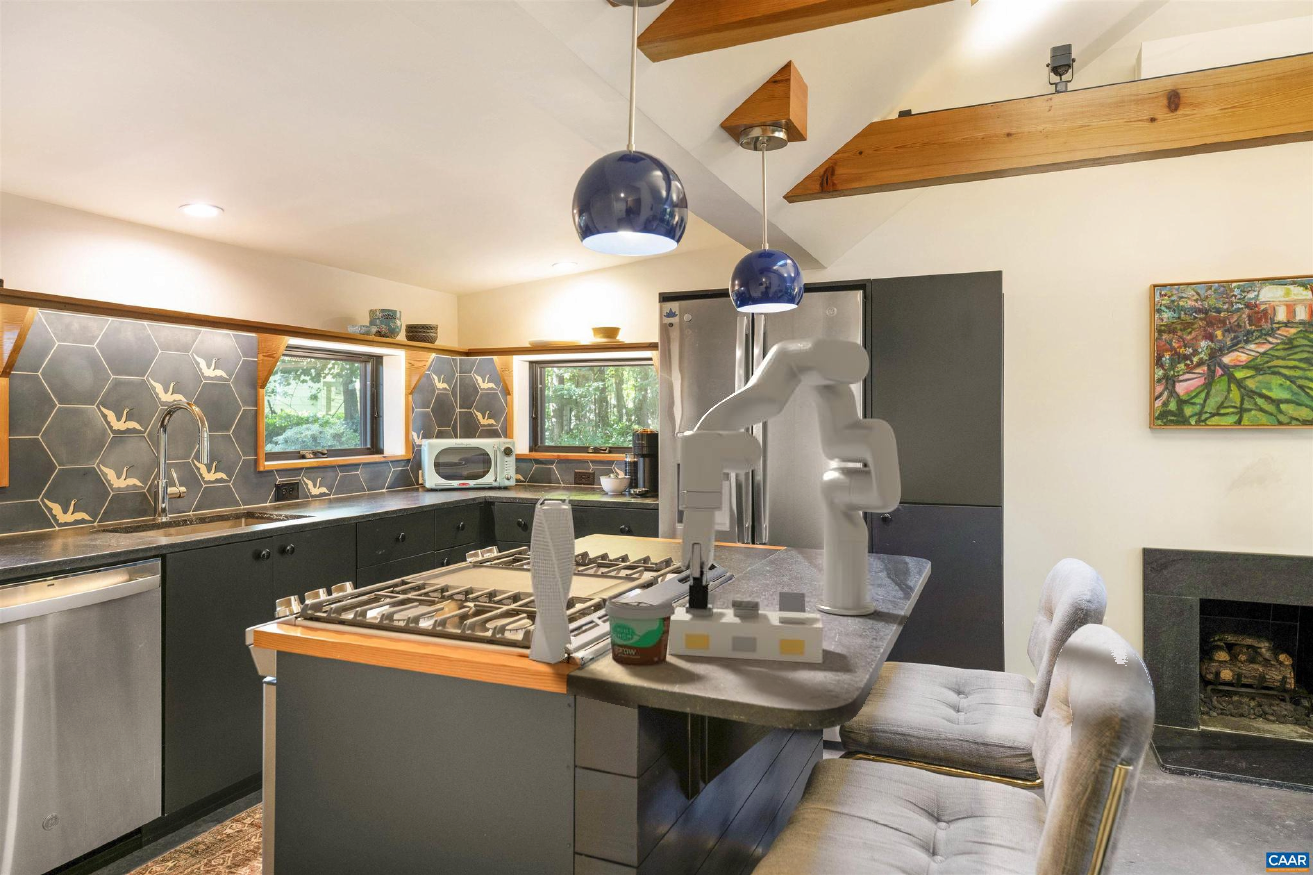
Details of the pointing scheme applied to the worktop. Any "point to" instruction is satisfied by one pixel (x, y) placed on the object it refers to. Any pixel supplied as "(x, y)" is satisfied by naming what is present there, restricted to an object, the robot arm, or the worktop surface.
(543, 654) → the skyscraper
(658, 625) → the food container
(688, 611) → the switch
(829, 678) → the worktop surface
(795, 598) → the switch
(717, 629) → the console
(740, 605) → the switch
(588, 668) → the worktop surface
